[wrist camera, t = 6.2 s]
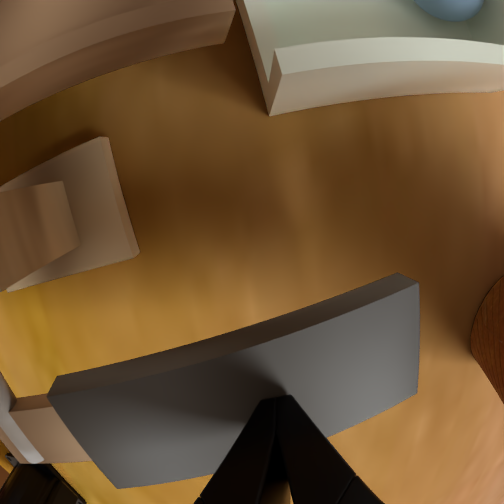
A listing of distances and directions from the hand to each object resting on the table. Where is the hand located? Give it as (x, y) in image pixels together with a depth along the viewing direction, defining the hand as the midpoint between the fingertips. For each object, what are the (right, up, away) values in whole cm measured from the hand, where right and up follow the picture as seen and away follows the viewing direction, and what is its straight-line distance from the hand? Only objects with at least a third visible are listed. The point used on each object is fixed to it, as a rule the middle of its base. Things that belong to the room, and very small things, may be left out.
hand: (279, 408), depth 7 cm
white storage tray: (+4, +15, +2) cm, 15 cm away
